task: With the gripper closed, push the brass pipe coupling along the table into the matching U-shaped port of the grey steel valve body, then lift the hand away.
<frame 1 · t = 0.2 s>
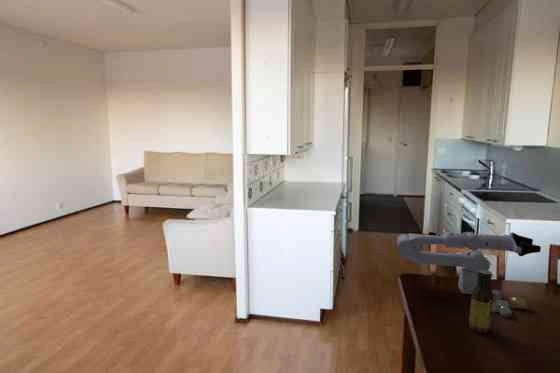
hand: (536, 245, 145), 21 cm above the table, tool horizontal, fingers open, 7 cm apart
sauce bottle: (478, 329, 126), on the table
valve body: (496, 305, 142), on the table
coupling: (517, 308, 140), on the table
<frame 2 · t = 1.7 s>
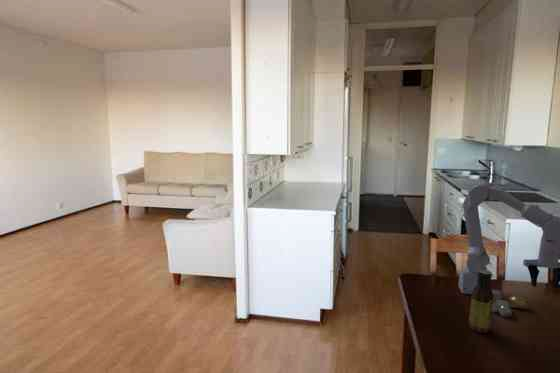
hand: (543, 286, 137), 9 cm above the table, tool pointing down, fingers open, 6 cm apart
coupling: (517, 307, 140), on the table, tilted 14°
everything else where it was.
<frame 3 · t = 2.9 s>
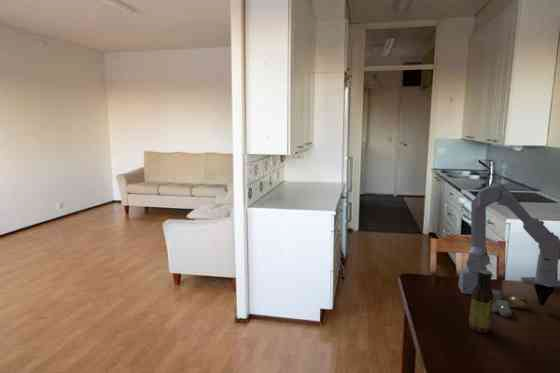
hand: (540, 304, 138), 3 cm above the table, tool pointing down, fingers closed
nothing on the table moved.
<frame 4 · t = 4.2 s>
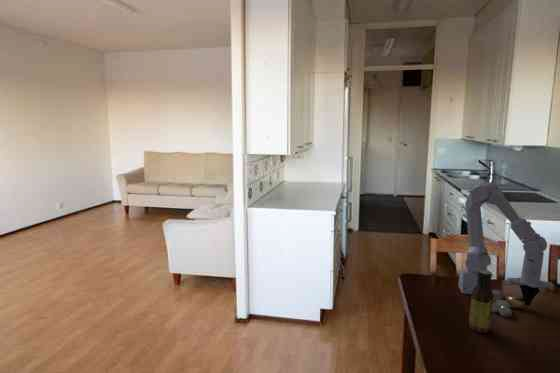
hand: (526, 304, 139), 2 cm above the table, tool pointing down, fingers closed
coupling: (514, 307, 140), on the table, tilted 7°, touching gripper
everything else where it was.
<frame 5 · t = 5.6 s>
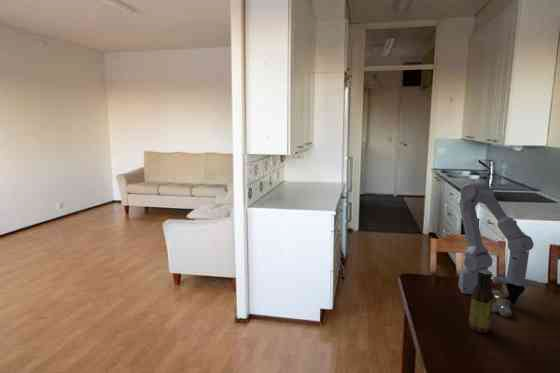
hand: (512, 302, 140), 2 cm above the table, tool pointing down, fingers closed
coupling: (500, 305, 141), on the table, tilted 8°, touching gripper
everything else where it was.
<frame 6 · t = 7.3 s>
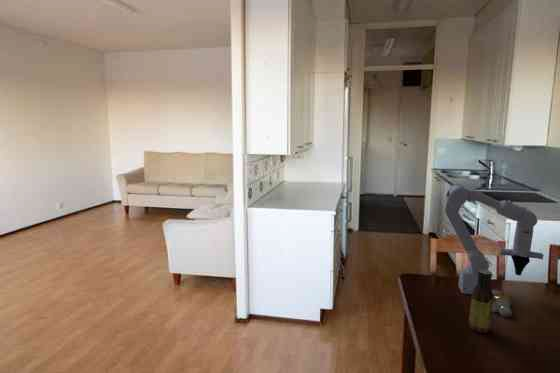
hand: (517, 274, 147), 9 cm above the table, tool pointing down, fingers closed
coupling: (500, 306, 141), on the table
everything else where it was.
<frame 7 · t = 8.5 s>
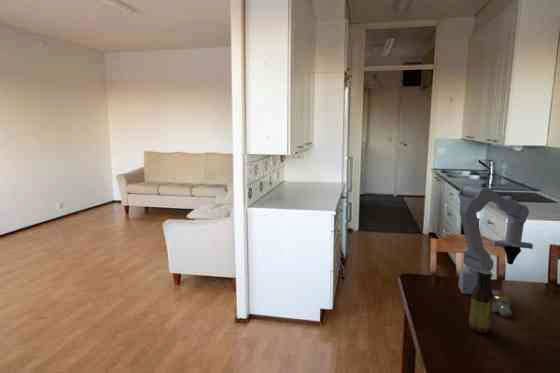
hand: (509, 263, 158), 9 cm above the table, tool pointing down, fingers closed
coupling: (500, 306, 141), on the table, tilted 7°
everything else where it was.
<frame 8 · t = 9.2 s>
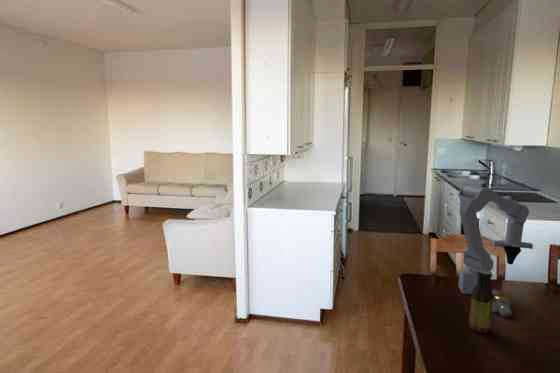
hand: (509, 263, 158), 9 cm above the table, tool pointing down, fingers closed
nothing on the table moved.
at the end: coupling 0.6 cm from the target spot on the valve body, point 0.0 cm above the valve body's base; coupling tilted 12°; sauce bottle moved 0.2 cm from its start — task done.
